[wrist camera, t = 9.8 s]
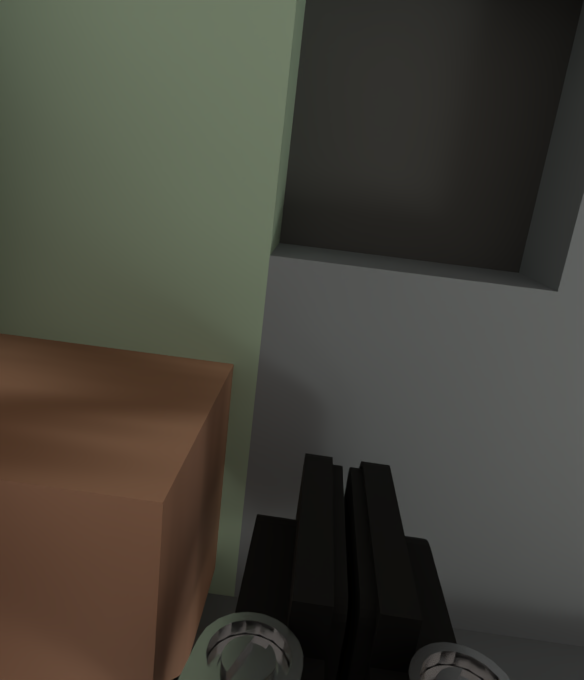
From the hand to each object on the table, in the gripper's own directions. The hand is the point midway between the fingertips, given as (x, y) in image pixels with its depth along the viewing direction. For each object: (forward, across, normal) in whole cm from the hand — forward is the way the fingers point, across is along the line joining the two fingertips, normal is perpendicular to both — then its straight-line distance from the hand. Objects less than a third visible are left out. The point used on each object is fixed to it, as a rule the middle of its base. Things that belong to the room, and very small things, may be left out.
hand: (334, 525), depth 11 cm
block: (+1, +5, 0) cm, 5 cm away
